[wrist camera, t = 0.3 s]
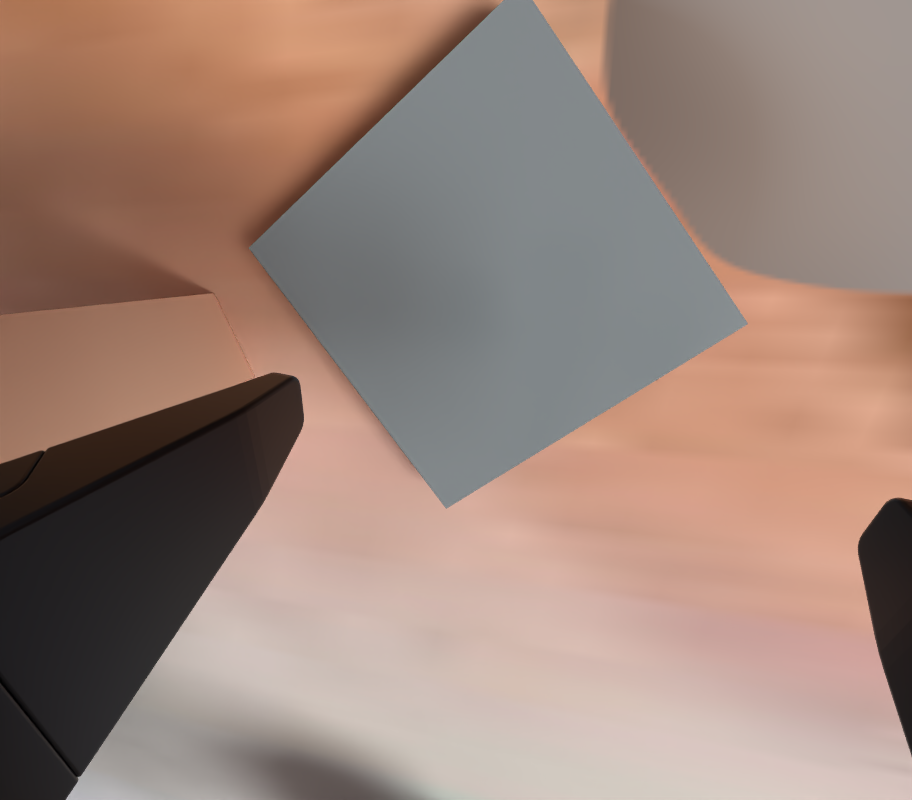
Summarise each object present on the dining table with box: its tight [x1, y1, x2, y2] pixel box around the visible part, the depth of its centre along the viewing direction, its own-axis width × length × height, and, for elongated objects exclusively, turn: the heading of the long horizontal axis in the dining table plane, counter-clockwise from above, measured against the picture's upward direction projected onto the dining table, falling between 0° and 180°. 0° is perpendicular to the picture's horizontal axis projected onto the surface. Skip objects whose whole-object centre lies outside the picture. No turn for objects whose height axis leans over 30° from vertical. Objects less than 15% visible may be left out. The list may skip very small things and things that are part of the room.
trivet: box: [249, 0, 748, 508], centre depth 22 cm, size 14×14×2 cm
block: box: [0, 293, 255, 464], centre depth 21 cm, size 4×4×13 cm
